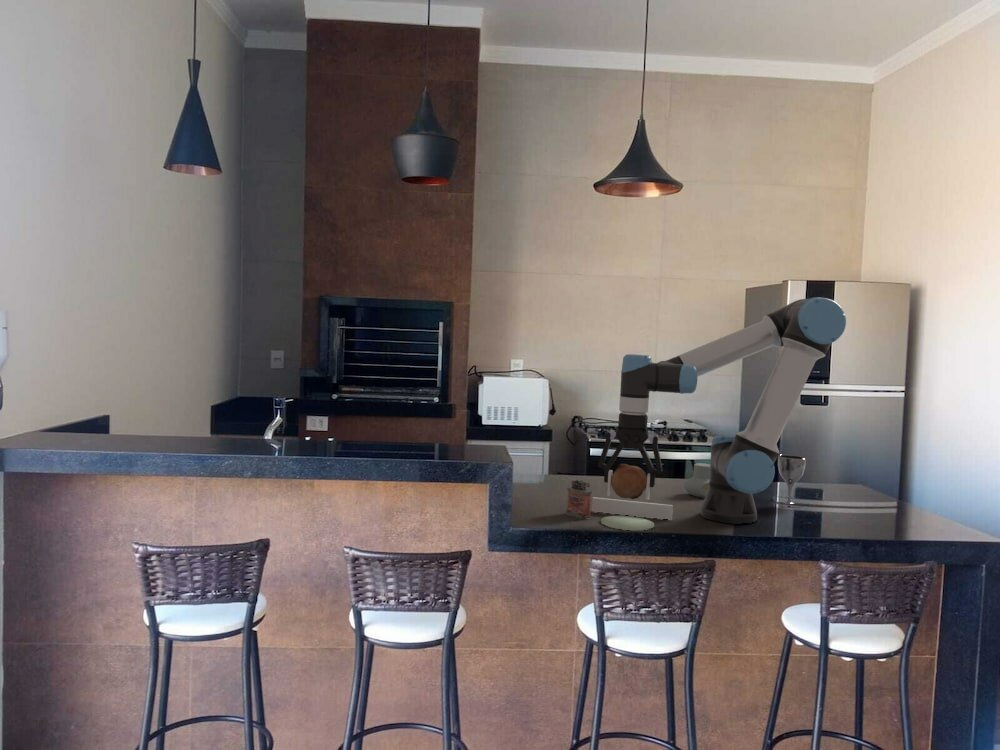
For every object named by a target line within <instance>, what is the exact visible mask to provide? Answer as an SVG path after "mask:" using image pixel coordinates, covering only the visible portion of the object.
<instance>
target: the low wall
mask: <svg viewBox="0 0 1000 750" xmlns="http://www.w3.org/2000/svg"><path fill="white" fill-rule="evenodd" d="M591 502H592V505H591V512H592V511H594V512H593V513H597V512H603V513H602V514H606V513H610V514H609V515H615V514H620V515H619V516H625V515H629V516H632V517H634V516H636V517H638V518H644V517H646V518H645V519H653V518H657V519H656V520H663V519H668V520H667V521H672V520H673V510H674V505H673V504H667V503H666V504H664V503H656V502H645V501H638V500H637V501H635V500H627V499H626V500H624V499H616V498H615V499H614V498H607V497H605V498H604V497H596V496H595V497H594V496H593V497H592V500H591Z"/></svg>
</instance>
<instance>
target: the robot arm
mask: <svg viewBox="0 0 1000 750" xmlns="http://www.w3.org/2000/svg"><path fill="white" fill-rule="evenodd" d="M846 325H847V318H846V314H845V311H844V309H843V308H842V307H841V305H840V304H839V303H837V302H836V301H834V300H833V299H830V298H826V297H823V296H821V297H819V296H817V297H816V296H815V297H811V298H803V299H802V298H801V299H797V300H795V301H793V302H790V303H788V304H787V305H785V306H783V307H781V308H779V309H777V310H775V311H773V312H771V313H768V314H766V315H764V316H763V318H762V320H761V321H759V322H756V323H754V324H751V325H750V326H746V327H745V328H742V329H739V330H737V331H734V332H733V333H729V334H727V335H725V336H723V337H720V338H717V339H714V340H713V341H710V342H707V343H705V344H702V345H701V346H698V347H696V348H693V349H691V350H689V351H686V352H683V353H681V354H678V355H676V356H674V357H672V358H669V359H666V360H660V361H659V362H653V361H652V356H650V355H646V354H636V353H634V354H632V353H631V354H629V353H628V354H625V355H624V356H623V358H622V363H621V364H622V365H621V370H620V371H621V372H620V373H621V375H620V394H619V395H620V396H619V404H618V405H619V408H618V410H619V411H620V413H619V414H618V423H617V429H616V431H610V430H608V431H606V433H605V441H604V445H603V448H602V451H601V455H600V457H599V460H598V463H597V468H599V469H602V470H603V471H604V475H603V483H607V489H606V490H607V491H606V492H607V493H606V496H607V497H611V495H612V490H613V488H612V484H611V478H612V475H613V473H614V471H613V470H612V469H611V467H612V466H613V464H614V462H615V461H616V460H617V458H618V456H619V455H620V453H621V451H622V450H623V449H624V448H625V449H635V450H637V449H638V451H639V453H640V455H641V456H642V457H641V458H643V459H642V460H643V461H644V463H645V466H646V469H647V470H648V472H649V473H647V475H646V477H647V486H646V489H645V501H649V500H650V495H651V493H650V492H651V488H654V486H655V485H656V484H655V483H656V482H655V481H656V475H658V474H659V475H660V474H662V472H663V464H662V461H661V455H660V450H659V445H658V443H659V435H652V434H649V433H648V418H649V416H648V415H647V413H649V404H650V403H649V400H650V392H654V393H655V392H658V393H671V394H672V393H673V394H682V395H683V394H693V393H694V392H695V391H696V390H697V387H698V386H697V385H698V377H700V376H702V375H705V374H708V373H709V372H713V371H715V370H718V369H720V368H722V367H725V366H727V365H730V364H732V363H735V362H738V361H739V360H742V359H745V358H747V357H749V356H752V355H754V354H757V353H760V352H762V351H765V350H767V349H770V348H771V347H775V348H777V349H779V348H782V347H783V349H782V351H781V353H780V355H779V357H778V360H777V361H776V363H775V366H774V368H773V370H772V372H771V374H770V376H769V379H768V380H767V382H766V385H765V386H764V389H763V390H762V393H761V395H760V398H759V399H758V402H757V404H756V406H755V408H754V410H753V411H752V415H751V416H750V418H749V420H748V423H747V425H746V427H745V428H744V430H741V431H739V432H736V434H735V436H726V435H725V436H723V435H722V436H721V435H715V436H714V437H713V438H712V440H711V445H710V463H709V464H710V478H709V489H708V492H707V494H706V497H705V498H703V502H702V505H701V508H700V509H701V510H700V516H701V517H702V518H705V519H707V520H710V521H714V522H719V523H723V524H732V525H733V524H734V525H738V524H739V525H743V524H742V523H748V524H753V523H752V522H754V523H755V521H756V520H757V519H758V511H757V507H756V503H755V500H754V499H755V498H754V494H758V493H761V492H763V491H765V490H766V489H768V487H769V486H770V485H771V484H772V482H773V481H774V478H775V473H776V472H775V471H776V470H775V462H776V460H777V459H778V455H780V450H779V448H778V444H777V443H778V442H779V440H780V438H781V435H782V433H783V432H784V429H785V427H786V425H787V423H788V420H789V418H791V417H790V416H791V414H792V413H793V411H794V408H795V406H796V404H797V402H798V400H799V398H800V396H801V393H802V391H803V389H804V387H805V385H806V383H807V380H808V378H809V376H810V375H811V373H812V371H813V368H814V367H815V363H816V362H817V361H818V360H819V359H823V358H825V357H826V355H827V353H828V351H829V349H830V346H831V345H832V343H834V342H836V341H838V340H839V339H840V338H841V336H842V335H843V334H844V332H845V330H846ZM615 437H616V438H617V440H618V441H619V444H618V445H617V447H616V449H615V450H614V452H613V454H612V455H611V457H610V459H609V460H608V461H607V463H605V462H606V459H607V456H608V453H609V450H610V446H611V443H612V441H613V440H614V439H615ZM647 440H649V443H650V444H652V445H651V446H652V452H653V457H654V462H655V467H656V468H655V467H654V465H653V463H652V461H651V460H652V459H650V456H649V455H648V452H647V450H646V447H645V444H644V443H646V441H647ZM756 522H757V521H756Z"/></svg>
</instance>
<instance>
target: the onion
mask: <svg viewBox="0 0 1000 750" xmlns="http://www.w3.org/2000/svg"><path fill="white" fill-rule="evenodd" d="M611 484H612V490H613V491H614V493H615V494H616V496H618V497H620V498H621V499H623V498H624V499H631V500H635V499H638V498H639V497H641V496H642V495H643V493H644V491H646V486H647V475H646V472H645V471H644V470H643V469H642V468H641V467H639V466H637V465H629V464H627V463H620V464H618V465H617V467H616V468H615V471H613V473H612V478H611Z"/></svg>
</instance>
